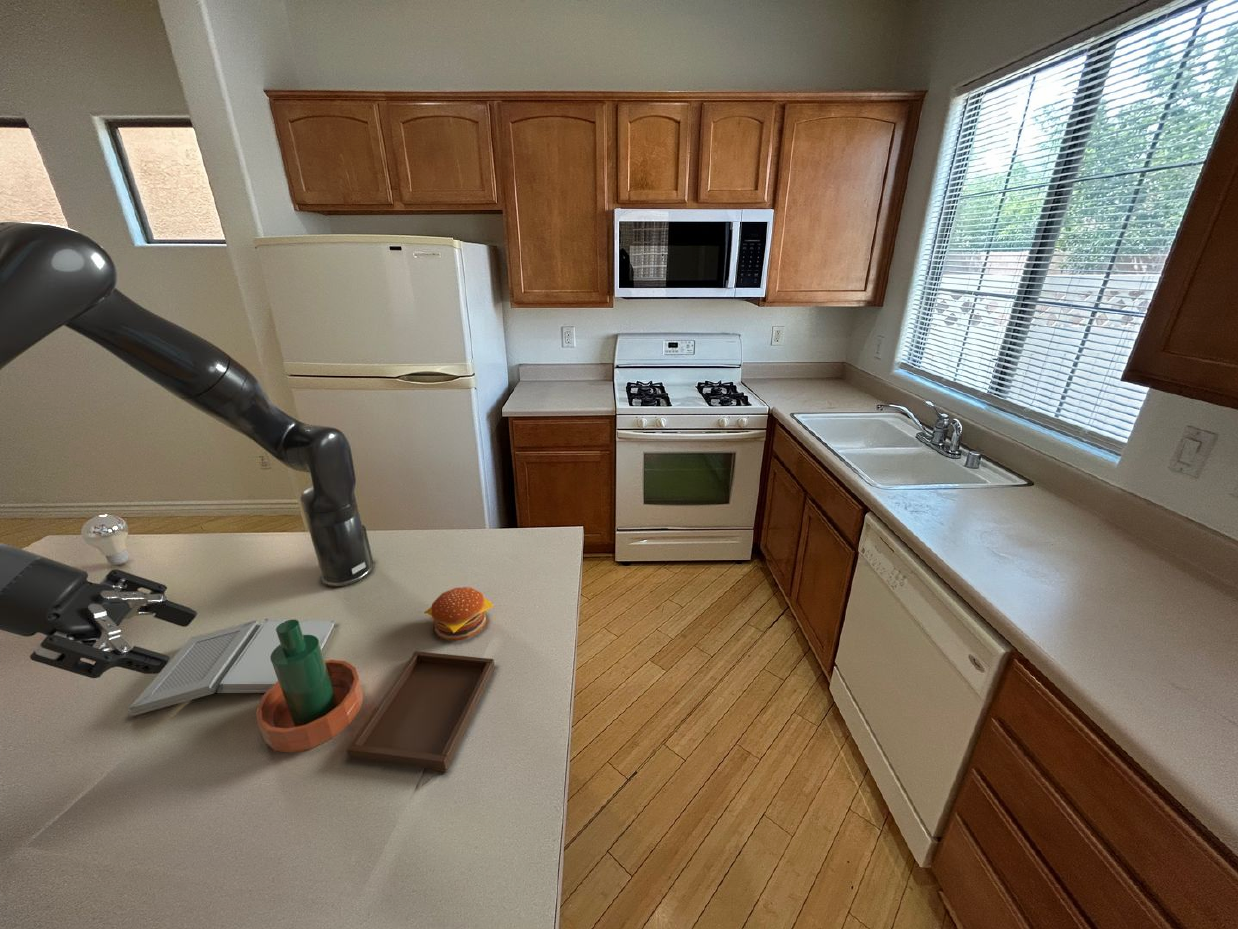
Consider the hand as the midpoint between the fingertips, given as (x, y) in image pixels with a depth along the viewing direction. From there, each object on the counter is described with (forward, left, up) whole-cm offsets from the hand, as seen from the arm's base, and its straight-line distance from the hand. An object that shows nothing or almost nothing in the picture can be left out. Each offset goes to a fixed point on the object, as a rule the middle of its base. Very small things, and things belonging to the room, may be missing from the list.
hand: (179, 641), depth 59 cm
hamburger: (-27, +23, -18) cm, 39 cm away
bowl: (-6, +10, -18) cm, 21 cm away
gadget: (-13, -8, -18) cm, 24 cm away
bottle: (-6, +10, -17) cm, 21 cm away
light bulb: (-36, -60, -18) cm, 72 cm away
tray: (-9, +26, -18) cm, 32 cm away
